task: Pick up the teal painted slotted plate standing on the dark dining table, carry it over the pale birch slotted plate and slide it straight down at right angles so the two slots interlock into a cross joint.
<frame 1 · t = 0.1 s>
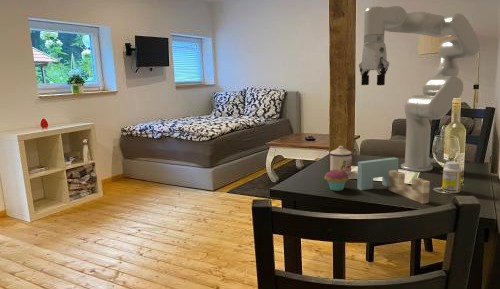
hand: (372, 85, 147), 37 cm above the table, tool pointing down, fingers open, 9 cm apart
teal slotted plate: (377, 186, 137), on the table
birch slotted plate: (407, 195, 125), on the table
supplement bottle: (450, 191, 129), on the table
teacup with lid: (342, 172, 158), on the table
cupcake: (336, 189, 136), on the table
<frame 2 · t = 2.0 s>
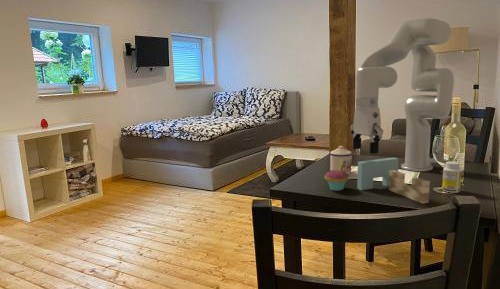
hand: (365, 151, 132), 14 cm above the table, tool pointing down, fingers open, 9 cm apart
nothing on the table moved.
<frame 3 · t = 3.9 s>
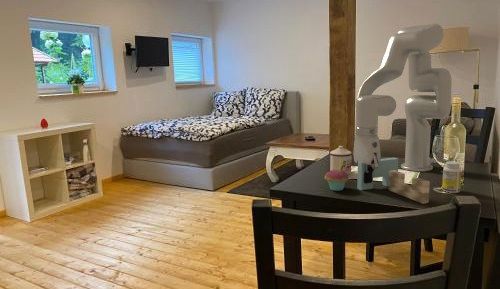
hand: (365, 181, 135), 3 cm above the table, tool pointing down, fingers closed on teal slotted plate, 2 cm apart
teal slotted plate: (377, 186, 137), on the table, touching gripper
everything else where it was.
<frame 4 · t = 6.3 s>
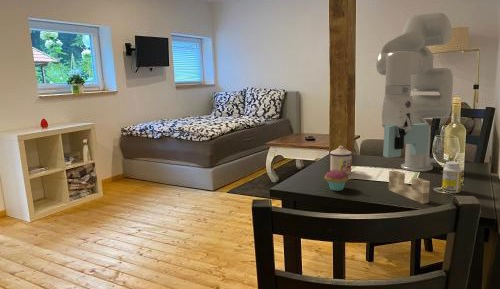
hand: (395, 147, 121), 17 cm above the table, tool pointing down, fingers closed on teal slotted plate, 2 cm apart
teal slotted plate: (405, 154, 123), point 14 cm above the table, touching gripper
everything else where it was.
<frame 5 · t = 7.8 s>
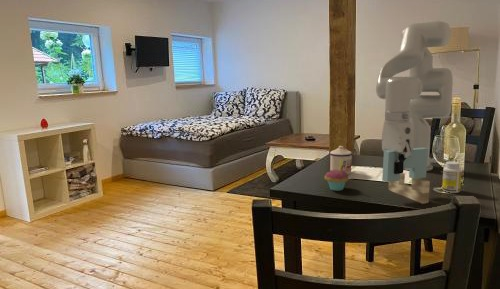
hand: (395, 171, 122), 9 cm above the table, tool pointing down, fingers closed on teal slotted plate, 2 cm apart
teal slotted plate: (404, 178, 124), point 6 cm above the table, touching gripper
everything else where it was.
when the fingers open (3 cm above the table, at t = 9.2 s): teal slotted plate stays where it is, on the table.
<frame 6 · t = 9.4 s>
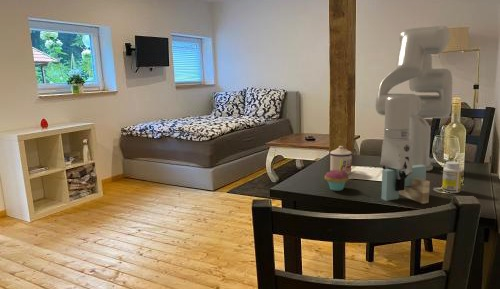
hand: (394, 187, 123), 4 cm above the table, tool pointing down, fingers open, 4 cm apart
teal slotted plate: (403, 196, 125), on the table
everything else where it was.
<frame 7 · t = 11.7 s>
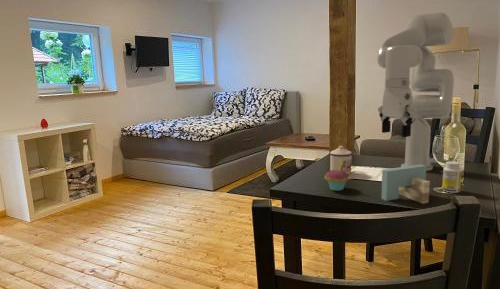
hand: (395, 134, 127), 20 cm above the table, tool pointing down, fingers open, 9 cm apart
nothing on the table moved.
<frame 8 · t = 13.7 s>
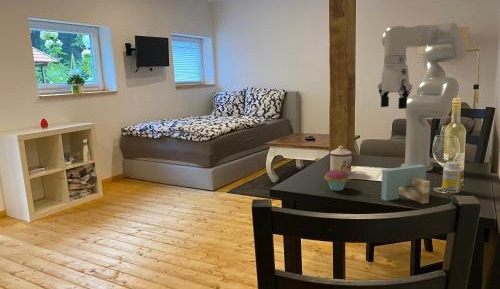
hand: (393, 107, 140), 28 cm above the table, tool pointing down, fingers open, 9 cm apart
nothing on the table moved.
at the end: teal slotted plate 1.6 cm off-centre on the birch slotted plate, point 0.0 cm above the birch slotted plate's base; teal slotted plate tilted 0°; the gripper is holding nothing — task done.
